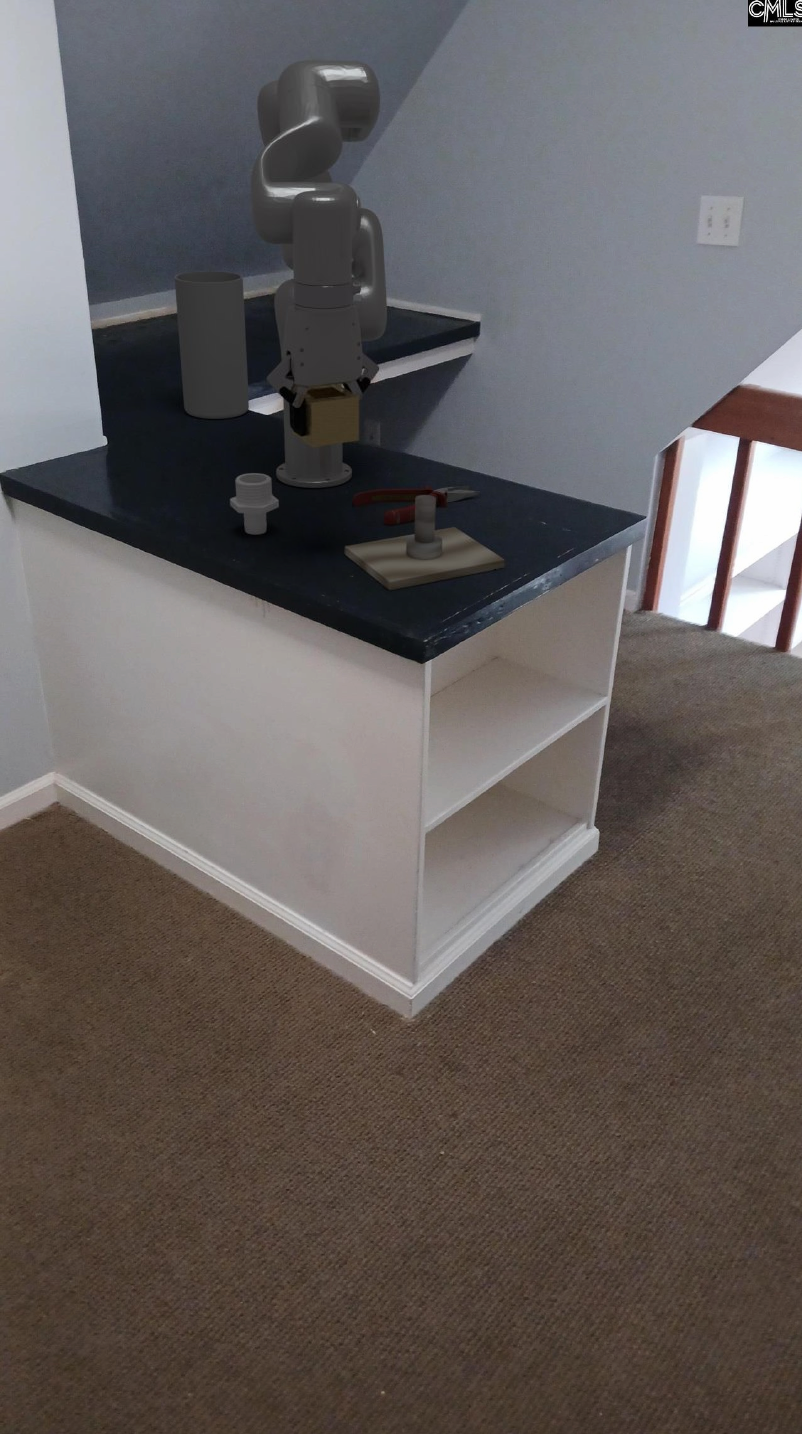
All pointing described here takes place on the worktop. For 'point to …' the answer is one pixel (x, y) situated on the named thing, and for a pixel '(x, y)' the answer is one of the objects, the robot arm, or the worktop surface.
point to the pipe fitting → (254, 501)
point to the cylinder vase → (212, 343)
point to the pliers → (410, 500)
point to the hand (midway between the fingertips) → (324, 429)
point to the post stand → (423, 553)
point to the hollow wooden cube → (330, 415)
